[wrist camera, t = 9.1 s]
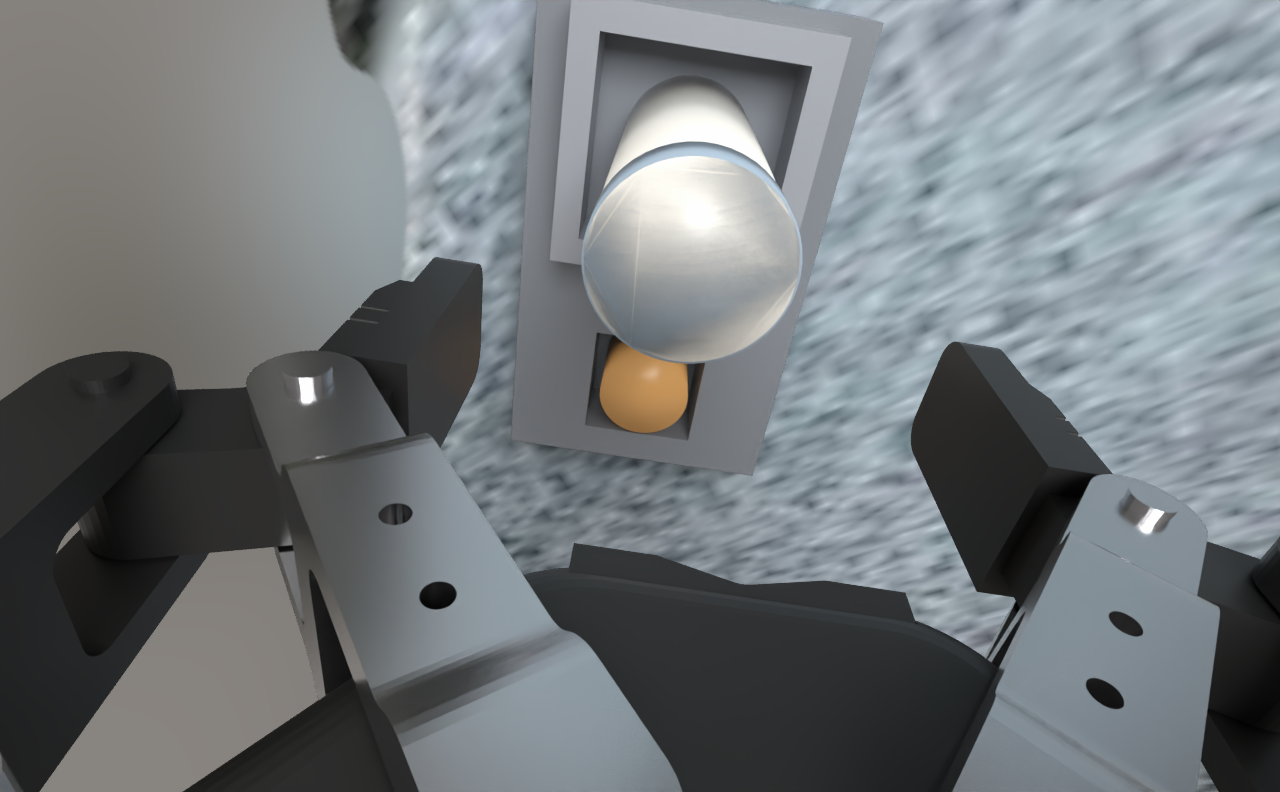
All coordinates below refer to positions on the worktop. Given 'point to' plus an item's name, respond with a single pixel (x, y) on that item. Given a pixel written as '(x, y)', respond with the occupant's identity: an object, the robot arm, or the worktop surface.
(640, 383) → the button
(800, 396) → the worktop surface
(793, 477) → the worktop surface
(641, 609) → the robot arm
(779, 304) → the cartridge
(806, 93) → the housing
